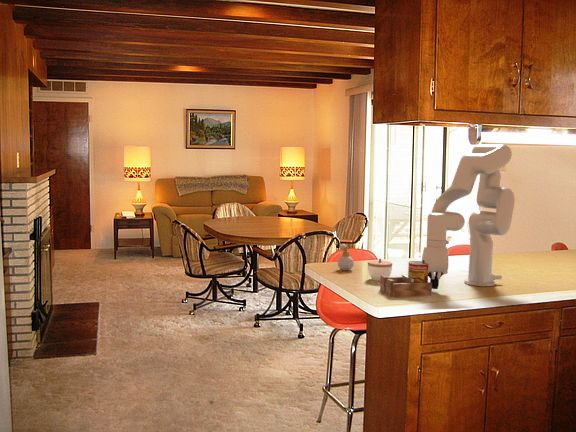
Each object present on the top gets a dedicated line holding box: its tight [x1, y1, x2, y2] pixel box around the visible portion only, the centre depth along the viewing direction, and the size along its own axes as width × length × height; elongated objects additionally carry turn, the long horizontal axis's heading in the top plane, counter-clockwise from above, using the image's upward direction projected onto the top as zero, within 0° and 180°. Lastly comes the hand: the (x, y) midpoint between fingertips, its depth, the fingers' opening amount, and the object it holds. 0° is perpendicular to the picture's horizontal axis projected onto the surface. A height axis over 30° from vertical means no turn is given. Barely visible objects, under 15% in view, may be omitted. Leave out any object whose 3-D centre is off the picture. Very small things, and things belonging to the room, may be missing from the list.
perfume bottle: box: [337, 243, 354, 271], centre depth 292 cm, size 8×10×12 cm
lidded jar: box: [367, 258, 393, 282], centre depth 271 cm, size 11×11×9 cm
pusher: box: [385, 274, 414, 286], centre depth 246 cm, size 10×9×6 cm
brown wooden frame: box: [379, 275, 433, 298], centre depth 247 cm, size 17×14×6 cm
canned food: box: [407, 260, 429, 283], centre depth 248 cm, size 8×8×12 cm
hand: (434, 288), depth 250 cm, fingers closed
